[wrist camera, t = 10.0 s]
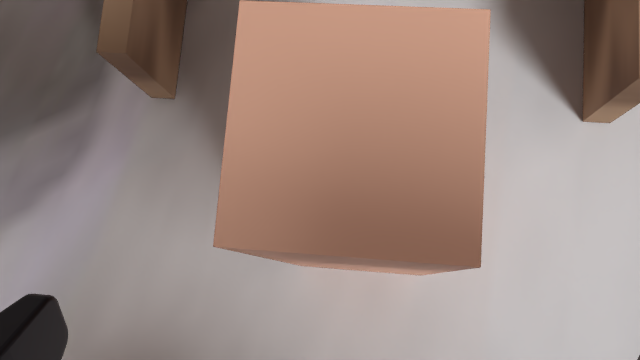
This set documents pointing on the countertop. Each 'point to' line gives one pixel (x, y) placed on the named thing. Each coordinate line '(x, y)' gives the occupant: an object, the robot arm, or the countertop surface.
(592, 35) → the brown u-shaped piece
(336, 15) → the block
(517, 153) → the countertop surface
